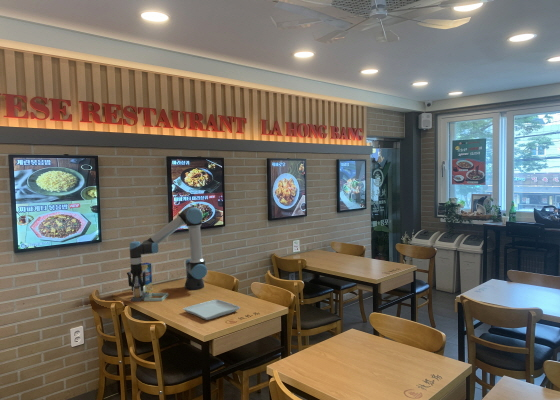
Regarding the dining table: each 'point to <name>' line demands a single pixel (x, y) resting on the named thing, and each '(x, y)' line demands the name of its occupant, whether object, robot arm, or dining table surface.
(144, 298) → the parts tray
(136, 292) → the fuse
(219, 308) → the square plate
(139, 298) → the fuse block
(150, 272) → the beverage box
